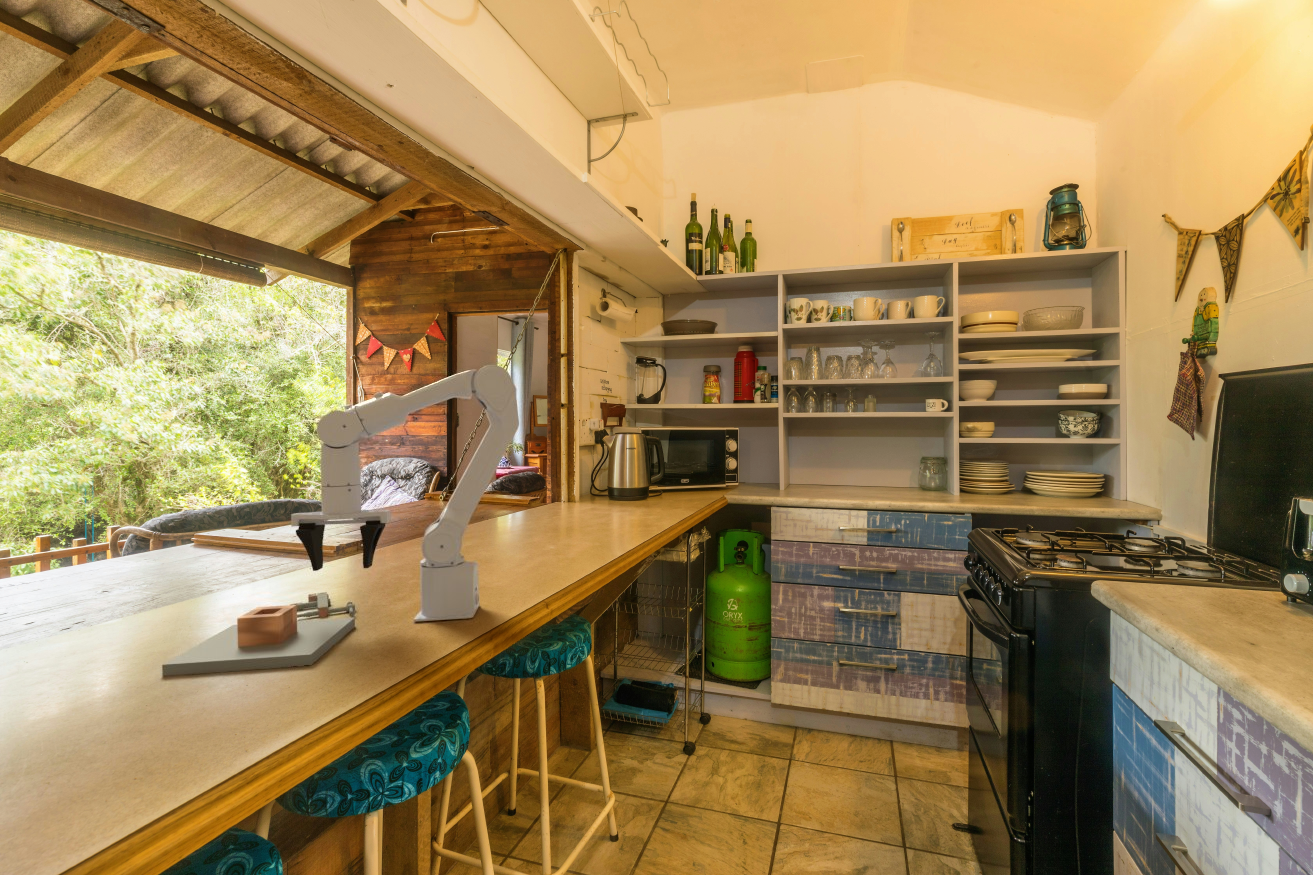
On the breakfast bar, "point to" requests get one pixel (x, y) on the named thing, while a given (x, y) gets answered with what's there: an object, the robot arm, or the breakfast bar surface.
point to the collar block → (267, 625)
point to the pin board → (260, 649)
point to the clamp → (322, 606)
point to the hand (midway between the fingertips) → (342, 568)
